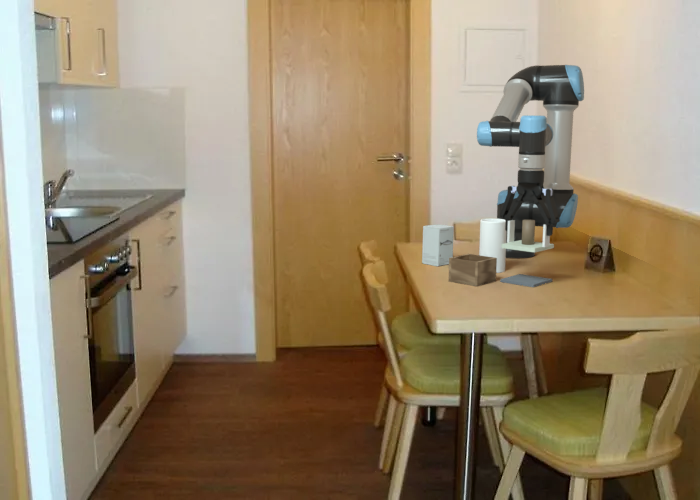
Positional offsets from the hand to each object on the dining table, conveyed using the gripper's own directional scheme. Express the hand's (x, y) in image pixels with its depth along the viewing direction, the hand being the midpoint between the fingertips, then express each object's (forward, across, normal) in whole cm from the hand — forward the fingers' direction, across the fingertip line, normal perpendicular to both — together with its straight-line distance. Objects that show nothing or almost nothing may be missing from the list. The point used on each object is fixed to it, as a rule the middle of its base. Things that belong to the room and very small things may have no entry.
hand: (527, 244), depth 243 cm
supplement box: (+11, -36, +5) cm, 38 cm away
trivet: (+11, 0, 0) cm, 11 cm away
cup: (+11, -17, +8) cm, 22 cm away
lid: (+1, 0, 0) cm, 1 cm away
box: (+11, -12, -10) cm, 19 cm away
